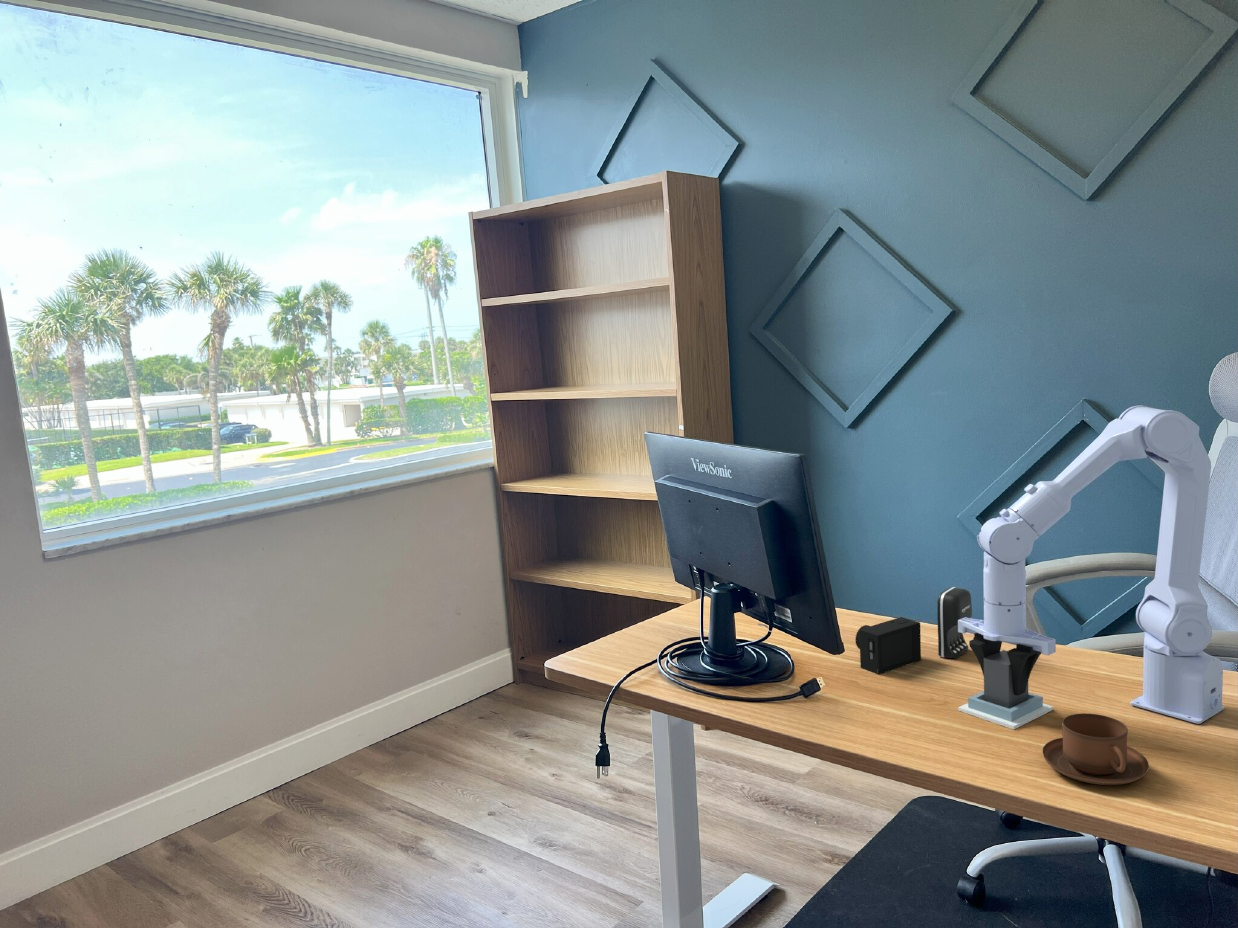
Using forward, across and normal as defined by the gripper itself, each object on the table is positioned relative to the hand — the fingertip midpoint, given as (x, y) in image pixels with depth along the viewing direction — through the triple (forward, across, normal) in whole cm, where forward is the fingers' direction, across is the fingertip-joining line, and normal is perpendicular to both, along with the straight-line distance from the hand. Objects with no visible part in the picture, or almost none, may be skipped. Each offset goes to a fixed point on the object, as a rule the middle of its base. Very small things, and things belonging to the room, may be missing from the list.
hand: (1005, 688), depth 135 cm
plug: (+2, 0, 0) cm, 2 cm away
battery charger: (+3, -19, +15) cm, 24 cm away
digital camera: (+4, -24, +3) cm, 25 cm away
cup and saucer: (+4, +18, -8) cm, 20 cm away
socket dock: (+3, 0, 0) cm, 3 cm away
